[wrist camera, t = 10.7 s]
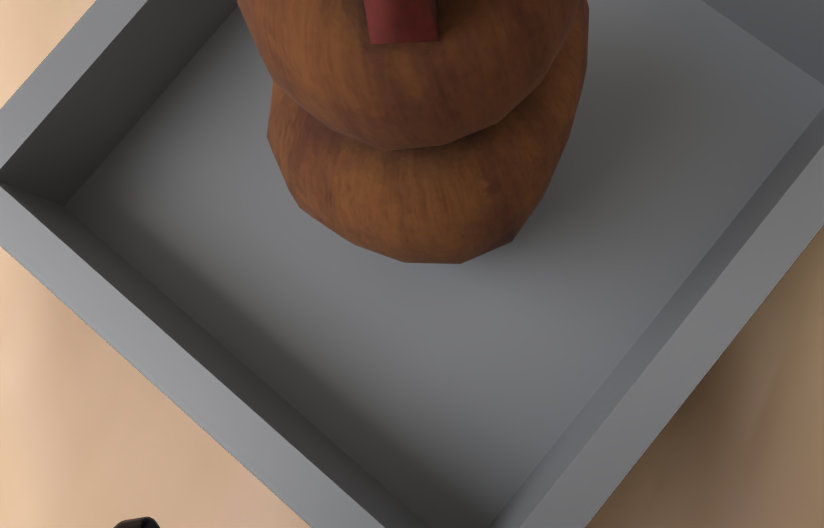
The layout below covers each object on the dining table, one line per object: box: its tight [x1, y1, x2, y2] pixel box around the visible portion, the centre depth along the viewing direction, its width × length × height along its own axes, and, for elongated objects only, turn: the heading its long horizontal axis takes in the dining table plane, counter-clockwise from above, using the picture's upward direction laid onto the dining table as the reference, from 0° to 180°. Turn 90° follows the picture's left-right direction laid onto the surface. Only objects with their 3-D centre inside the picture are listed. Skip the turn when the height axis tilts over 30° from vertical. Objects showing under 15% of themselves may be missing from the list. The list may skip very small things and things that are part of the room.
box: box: [0, 0, 824, 528], centre depth 18 cm, size 16×17×4 cm
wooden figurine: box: [237, 0, 589, 264], centre depth 11 cm, size 7×6×15 cm
